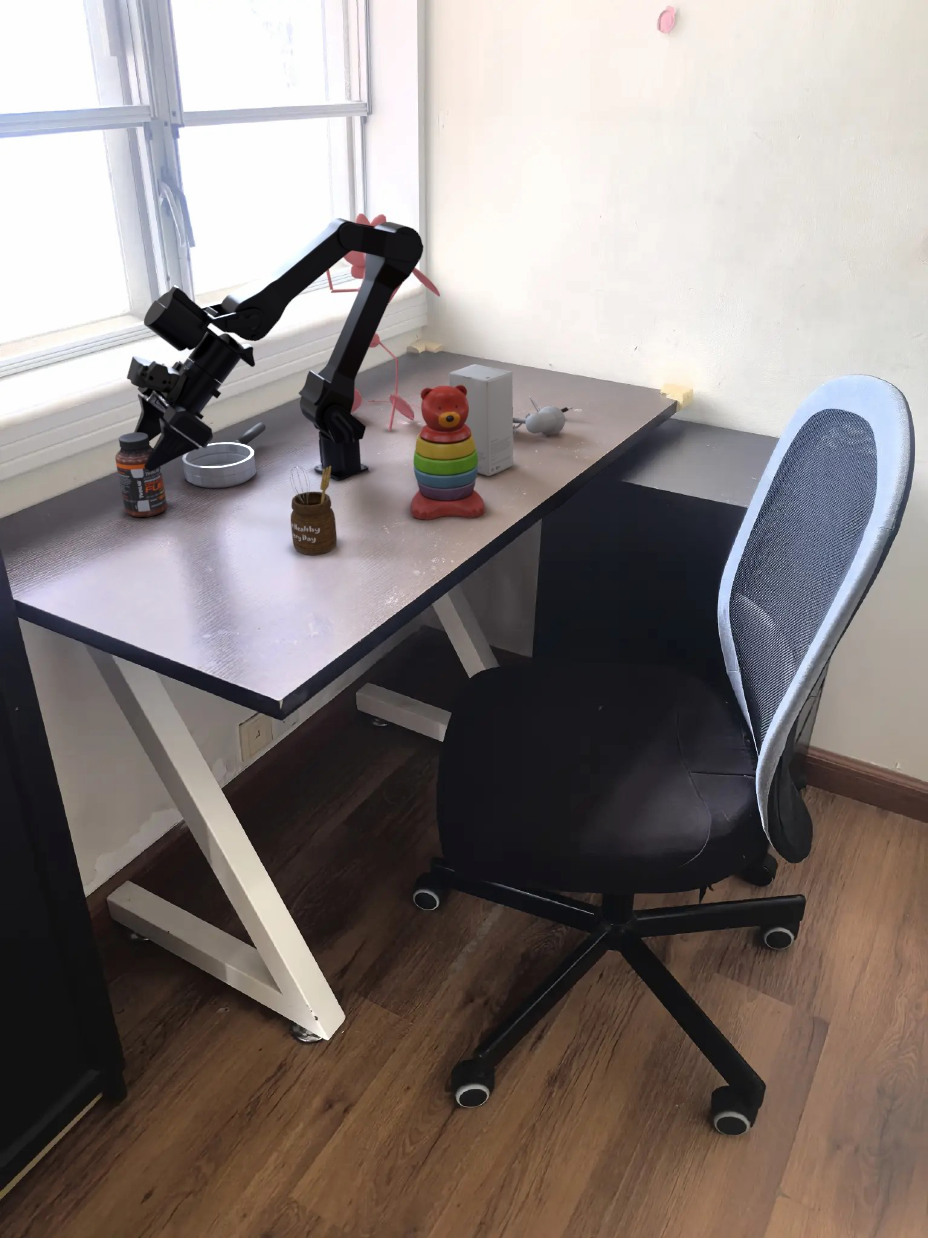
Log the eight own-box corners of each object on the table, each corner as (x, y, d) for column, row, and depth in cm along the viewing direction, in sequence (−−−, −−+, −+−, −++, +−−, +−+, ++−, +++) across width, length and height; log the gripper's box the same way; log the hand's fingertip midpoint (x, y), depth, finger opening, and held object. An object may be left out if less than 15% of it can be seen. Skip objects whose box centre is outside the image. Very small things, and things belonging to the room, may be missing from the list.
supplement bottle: (155, 520, 133) (141, 445, 127) (118, 517, 134) (102, 442, 128) (175, 503, 138) (162, 430, 132) (138, 500, 139) (124, 428, 133)
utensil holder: (311, 533, 129) (303, 451, 123) (348, 543, 126) (341, 460, 120) (284, 549, 124) (274, 465, 118) (321, 560, 122) (313, 475, 115)
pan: (270, 475, 147) (267, 454, 145) (210, 494, 140) (207, 473, 139) (231, 457, 154) (228, 437, 152) (172, 475, 147) (168, 455, 145)
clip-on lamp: (523, 428, 175) (482, 436, 159) (524, 394, 173) (482, 398, 158) (582, 431, 170) (545, 440, 154) (583, 396, 168) (546, 401, 152)
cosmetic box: (514, 467, 150) (516, 371, 142) (486, 478, 146) (487, 380, 138) (475, 454, 155) (476, 361, 147) (448, 465, 151) (447, 370, 143)
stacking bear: (411, 521, 132) (407, 399, 123) (408, 493, 141) (404, 377, 132) (486, 517, 133) (488, 396, 124) (478, 490, 142) (479, 375, 133)
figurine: (430, 439, 161) (425, 223, 143) (304, 419, 170) (285, 214, 153) (466, 413, 173) (465, 211, 155) (347, 396, 182) (334, 203, 165)
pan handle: (238, 453, 150) (236, 443, 149) (229, 452, 150) (227, 443, 150) (267, 430, 160) (266, 421, 159) (259, 429, 160) (258, 420, 159)
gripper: (141, 321, 132) (76, 408, 133) (175, 350, 118) (103, 447, 119) (203, 368, 140) (141, 450, 141) (242, 401, 126) (174, 492, 127)
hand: (139, 458), depth 132 cm, fingers open, 9 cm apart
